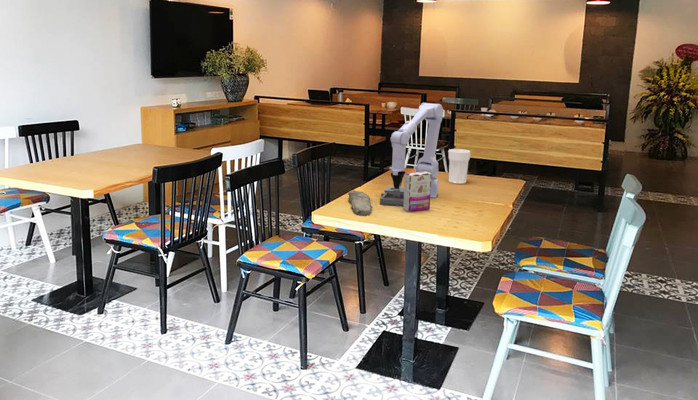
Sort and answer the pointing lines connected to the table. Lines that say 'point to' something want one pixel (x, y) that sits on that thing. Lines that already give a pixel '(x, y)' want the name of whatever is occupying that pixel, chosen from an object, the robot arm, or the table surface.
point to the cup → (458, 165)
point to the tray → (392, 200)
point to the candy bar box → (417, 191)
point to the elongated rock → (360, 202)
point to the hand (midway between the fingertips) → (397, 187)
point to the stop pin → (397, 192)
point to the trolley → (392, 190)
